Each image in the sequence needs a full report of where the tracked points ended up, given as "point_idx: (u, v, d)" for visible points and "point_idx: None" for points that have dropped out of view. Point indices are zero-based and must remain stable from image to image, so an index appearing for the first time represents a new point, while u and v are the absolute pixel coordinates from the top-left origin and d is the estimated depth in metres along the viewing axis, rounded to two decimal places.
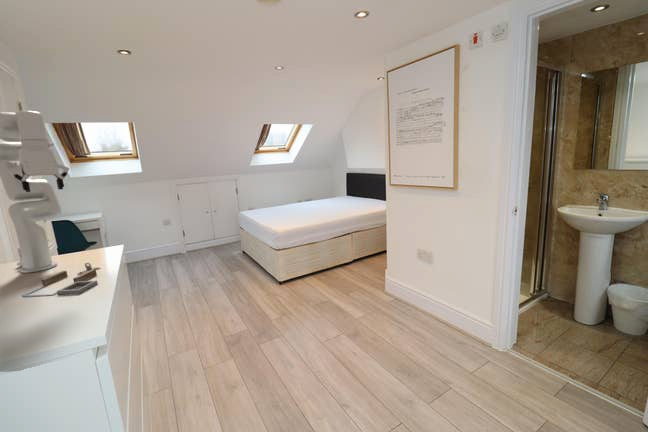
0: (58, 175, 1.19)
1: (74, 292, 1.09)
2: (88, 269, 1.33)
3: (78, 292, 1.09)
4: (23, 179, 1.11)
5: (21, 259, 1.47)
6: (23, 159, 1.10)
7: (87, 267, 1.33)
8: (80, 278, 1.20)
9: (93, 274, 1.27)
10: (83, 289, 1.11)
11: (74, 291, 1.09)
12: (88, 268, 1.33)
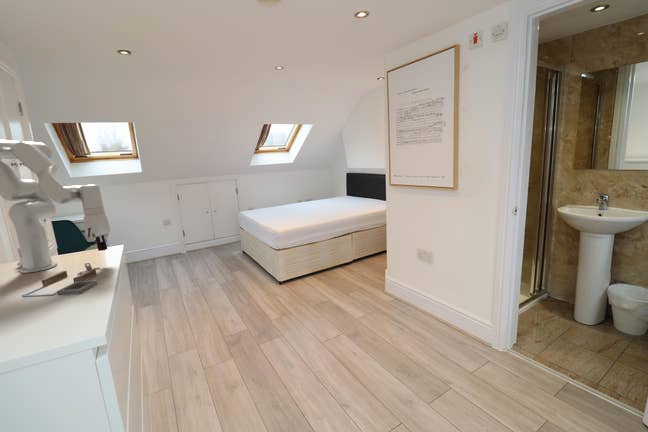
0: (105, 237, 1.41)
1: (74, 292, 1.09)
2: (88, 269, 1.33)
3: (78, 292, 1.09)
4: (101, 241, 1.39)
5: (21, 259, 1.47)
6: (93, 224, 1.34)
7: (87, 267, 1.33)
8: (80, 278, 1.20)
9: (93, 274, 1.27)
10: (83, 289, 1.11)
11: (74, 291, 1.09)
12: (88, 268, 1.33)
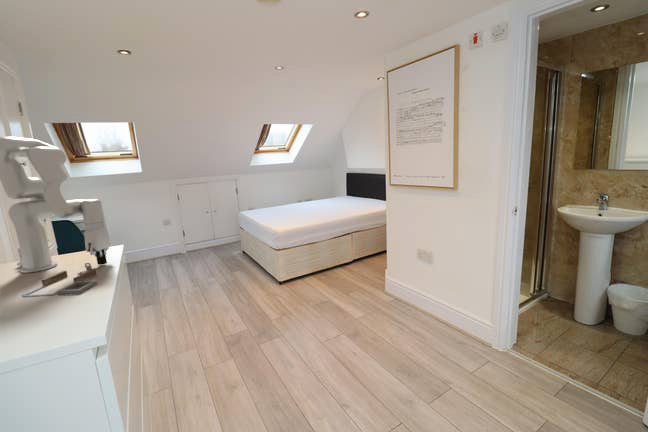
0: (105, 251, 1.42)
1: (74, 292, 1.09)
2: (88, 269, 1.33)
3: (78, 292, 1.09)
4: (101, 255, 1.39)
5: (21, 259, 1.47)
6: (94, 239, 1.35)
7: (87, 267, 1.33)
8: (80, 278, 1.20)
9: (93, 274, 1.27)
10: (83, 289, 1.11)
11: (74, 291, 1.09)
12: (88, 268, 1.33)
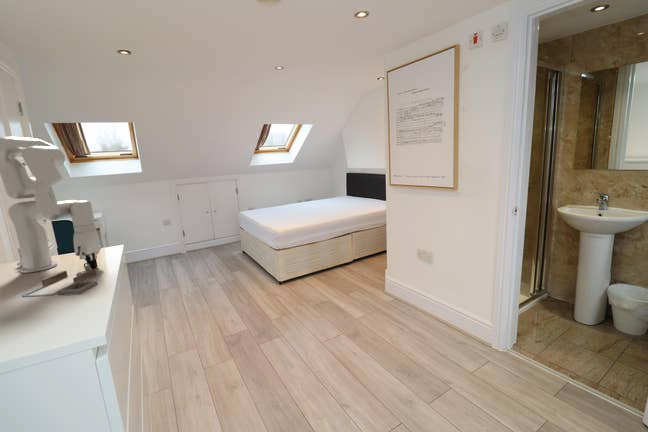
0: (95, 254, 1.36)
1: (74, 292, 1.09)
2: (87, 269, 1.32)
3: (78, 292, 1.09)
4: (91, 259, 1.33)
5: (21, 259, 1.47)
6: (83, 242, 1.29)
7: (86, 267, 1.32)
8: (80, 278, 1.20)
9: (93, 274, 1.27)
10: (83, 289, 1.11)
11: (74, 291, 1.09)
12: (87, 268, 1.32)
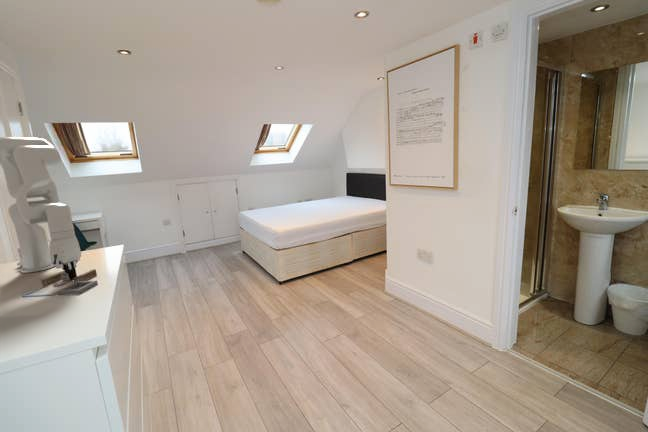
0: (74, 263, 1.24)
1: (74, 292, 1.09)
2: (65, 279, 1.21)
3: (78, 292, 1.09)
4: (70, 268, 1.22)
5: (21, 259, 1.47)
6: (60, 250, 1.17)
7: (63, 277, 1.21)
8: (80, 278, 1.20)
9: (93, 274, 1.27)
10: (83, 289, 1.11)
11: (74, 291, 1.09)
12: (65, 278, 1.21)
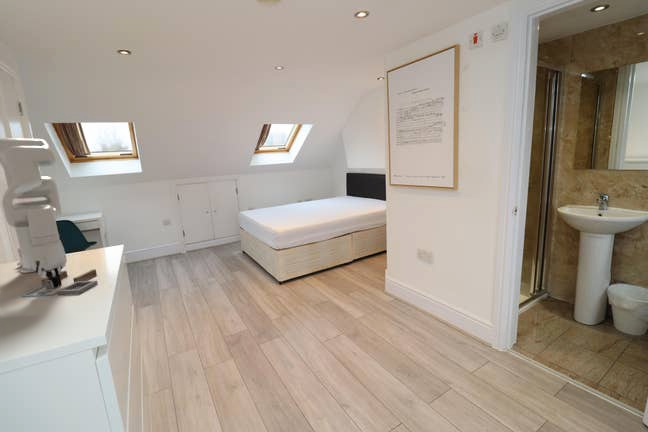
0: (59, 269, 1.17)
1: (74, 292, 1.09)
2: (48, 287, 1.14)
3: (78, 292, 1.09)
4: (53, 275, 1.15)
5: (21, 259, 1.47)
6: (43, 256, 1.10)
7: (47, 285, 1.14)
8: (80, 278, 1.20)
9: (93, 274, 1.27)
10: (83, 289, 1.11)
11: (74, 291, 1.09)
12: (49, 286, 1.14)
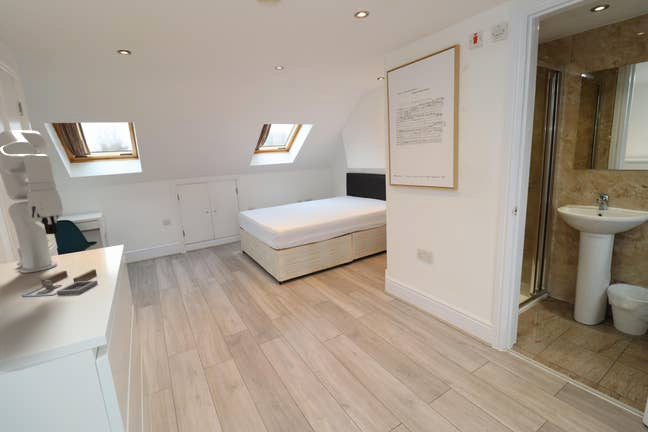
0: (55, 218, 1.18)
1: (74, 292, 1.09)
2: (48, 287, 1.14)
3: (78, 292, 1.09)
4: (49, 222, 1.16)
5: (21, 259, 1.47)
6: (38, 202, 1.11)
7: (47, 285, 1.13)
8: (80, 278, 1.20)
9: (93, 274, 1.27)
10: (83, 289, 1.11)
11: (74, 291, 1.09)
12: (48, 286, 1.14)
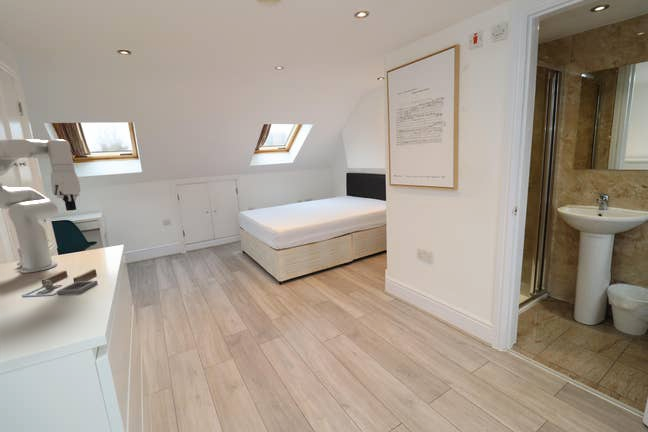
0: (74, 196, 1.35)
1: (74, 292, 1.09)
2: (48, 287, 1.14)
3: (78, 292, 1.09)
4: (69, 200, 1.32)
5: (21, 259, 1.47)
6: (61, 181, 1.28)
7: (47, 285, 1.13)
8: (80, 278, 1.20)
9: (93, 274, 1.27)
10: (83, 289, 1.11)
11: (74, 291, 1.09)
12: (48, 286, 1.14)
